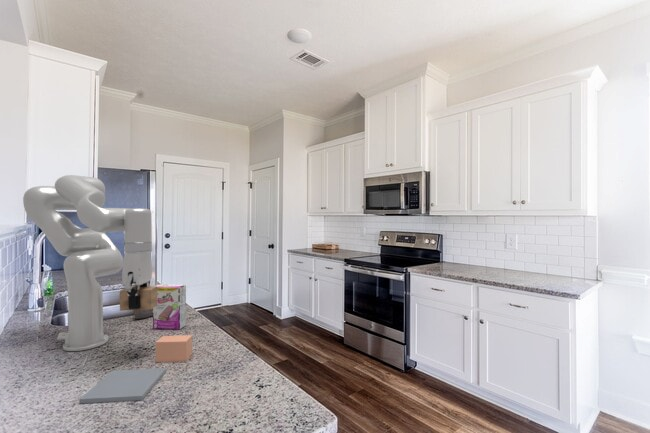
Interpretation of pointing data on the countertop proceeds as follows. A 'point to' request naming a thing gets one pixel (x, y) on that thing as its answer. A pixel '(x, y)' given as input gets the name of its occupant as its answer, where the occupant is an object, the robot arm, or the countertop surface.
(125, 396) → the baseplate
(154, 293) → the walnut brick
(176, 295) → the candy bar box
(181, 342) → the terracotta brick
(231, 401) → the countertop surface
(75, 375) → the countertop surface
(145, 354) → the countertop surface
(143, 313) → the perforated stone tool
